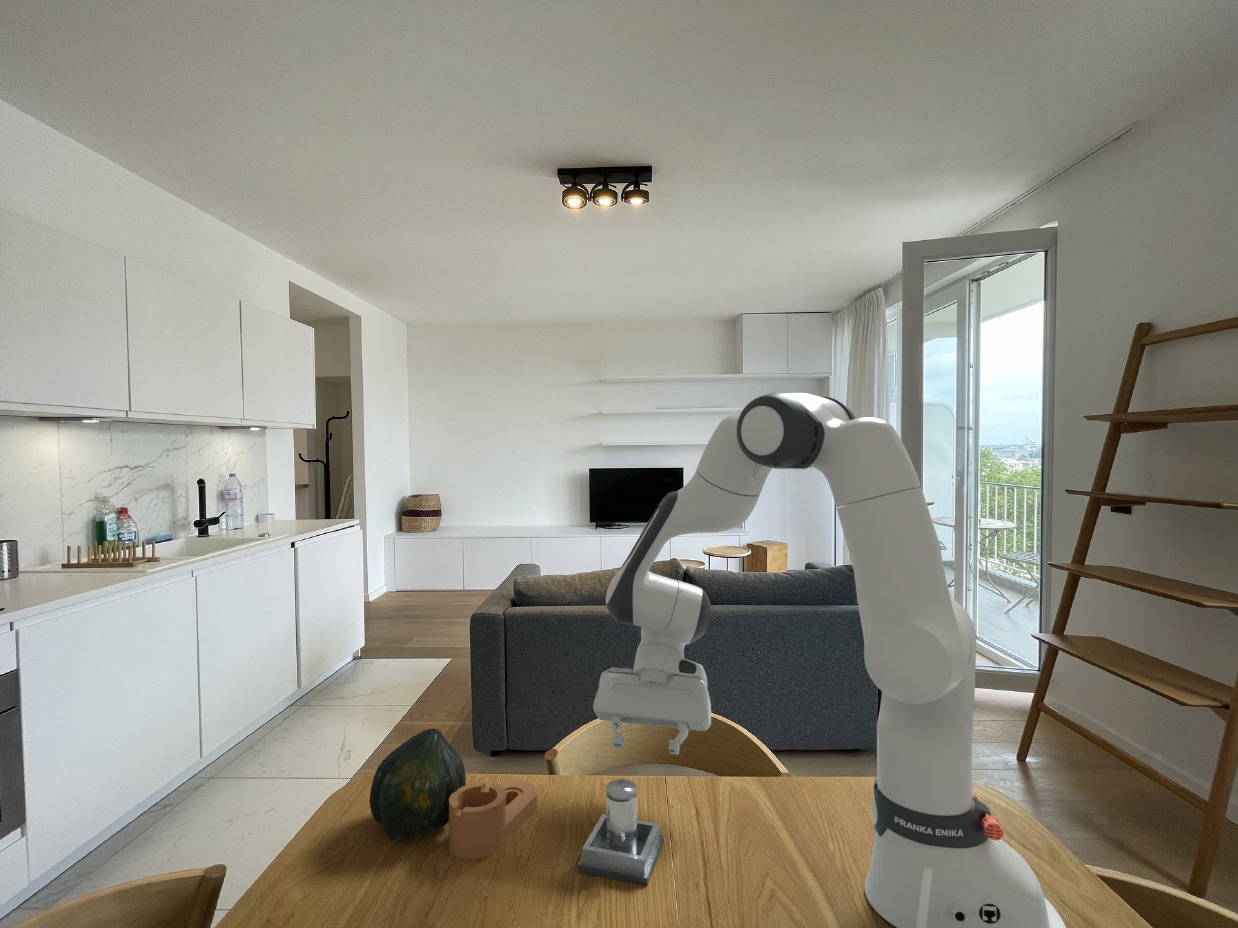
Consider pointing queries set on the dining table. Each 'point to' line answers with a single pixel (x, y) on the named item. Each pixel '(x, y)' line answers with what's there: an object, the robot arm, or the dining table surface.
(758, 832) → the dining table surface
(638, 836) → the square open tray
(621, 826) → the upright metal cylinder
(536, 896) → the dining table surface
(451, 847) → the bracket
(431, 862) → the dining table surface
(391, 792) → the squash
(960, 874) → the robot arm
